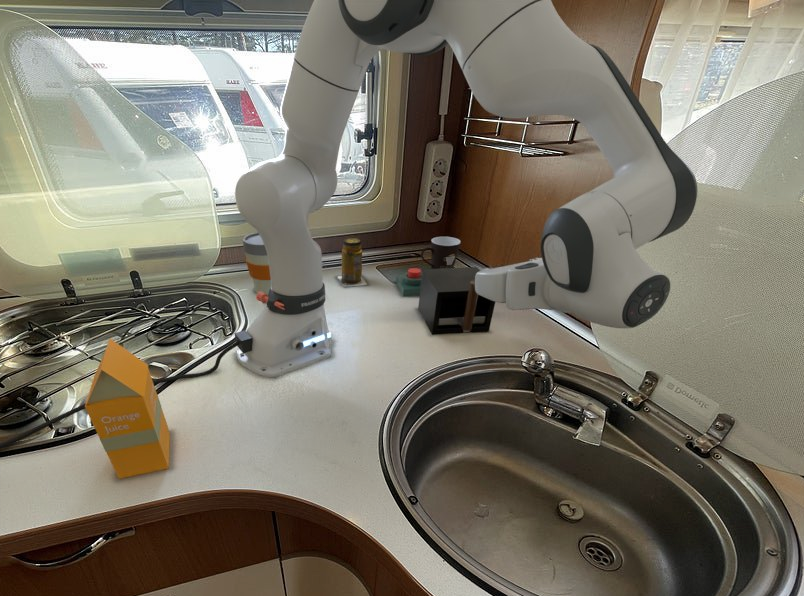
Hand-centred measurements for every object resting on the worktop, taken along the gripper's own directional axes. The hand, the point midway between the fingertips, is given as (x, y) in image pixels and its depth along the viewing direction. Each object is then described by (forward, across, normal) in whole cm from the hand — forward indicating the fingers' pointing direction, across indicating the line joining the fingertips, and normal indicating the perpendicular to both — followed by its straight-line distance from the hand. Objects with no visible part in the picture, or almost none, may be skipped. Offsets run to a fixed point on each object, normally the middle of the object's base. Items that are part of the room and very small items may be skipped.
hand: (509, 267), depth 79 cm
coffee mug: (+53, -10, +12) cm, 55 cm away
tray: (+20, +1, +15) cm, 25 cm away
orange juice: (-7, +71, +17) cm, 73 cm away
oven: (+24, 0, +17) cm, 29 cm away
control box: (+44, +2, +12) cm, 46 cm away
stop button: (+43, +2, +9) cm, 44 cm away
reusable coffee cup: (+54, +42, +7) cm, 69 cm away
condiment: (+54, +18, +9) cm, 58 cm away
